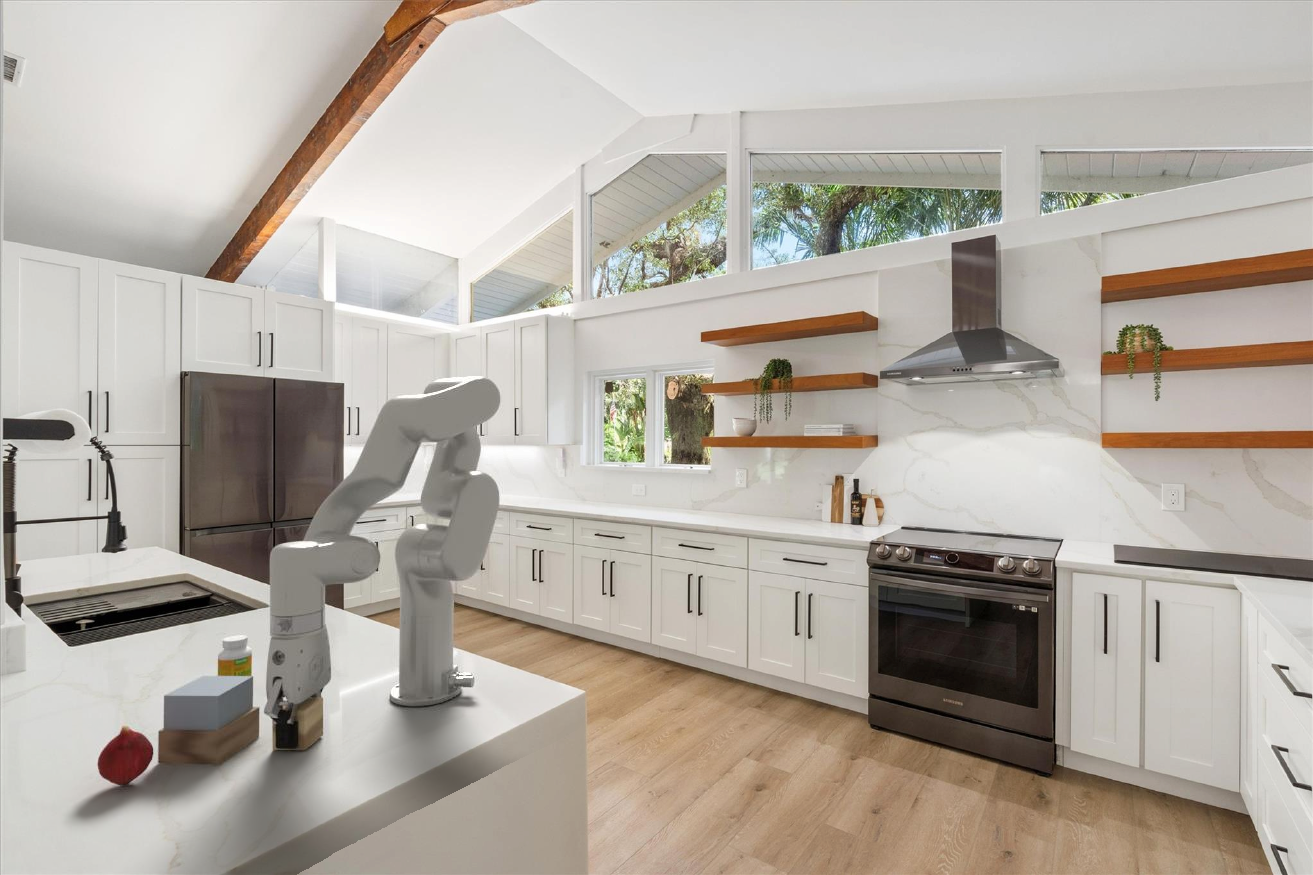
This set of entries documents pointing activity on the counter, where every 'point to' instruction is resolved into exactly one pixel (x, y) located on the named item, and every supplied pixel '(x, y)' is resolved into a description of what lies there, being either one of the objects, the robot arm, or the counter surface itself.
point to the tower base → (208, 742)
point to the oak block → (306, 723)
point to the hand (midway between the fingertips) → (298, 737)
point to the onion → (125, 757)
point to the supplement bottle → (235, 657)
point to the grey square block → (208, 703)
